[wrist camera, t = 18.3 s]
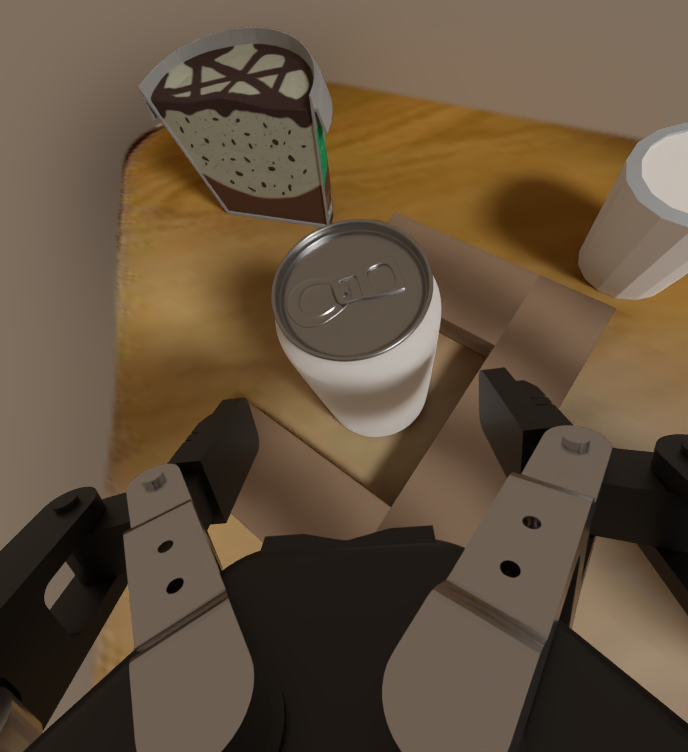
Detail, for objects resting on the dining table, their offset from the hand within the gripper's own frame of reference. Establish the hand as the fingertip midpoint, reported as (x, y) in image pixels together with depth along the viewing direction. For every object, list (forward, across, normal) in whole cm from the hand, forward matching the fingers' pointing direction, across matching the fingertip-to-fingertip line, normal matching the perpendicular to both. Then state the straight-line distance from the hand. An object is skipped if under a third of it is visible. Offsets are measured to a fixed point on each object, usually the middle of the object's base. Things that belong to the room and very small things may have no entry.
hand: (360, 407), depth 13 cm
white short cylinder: (+15, -17, 0) cm, 23 cm away
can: (+10, 0, +5) cm, 11 cm away
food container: (+23, +5, -8) cm, 25 cm away
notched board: (+9, -2, +5) cm, 11 cm away
